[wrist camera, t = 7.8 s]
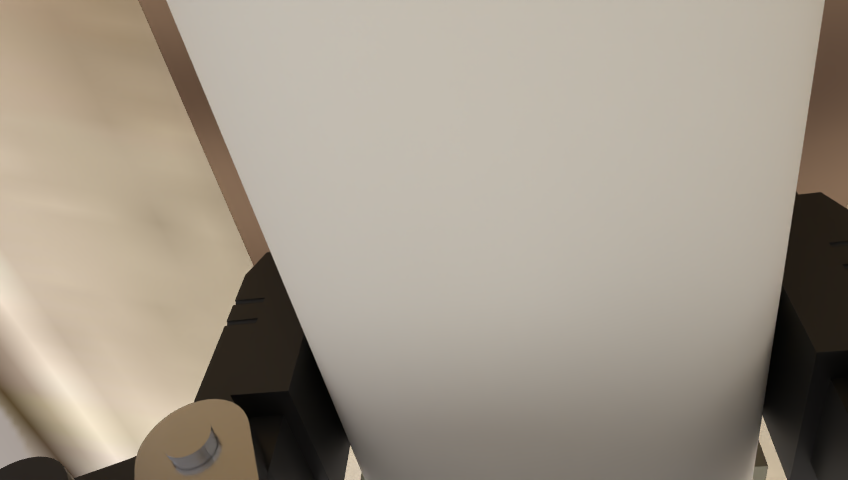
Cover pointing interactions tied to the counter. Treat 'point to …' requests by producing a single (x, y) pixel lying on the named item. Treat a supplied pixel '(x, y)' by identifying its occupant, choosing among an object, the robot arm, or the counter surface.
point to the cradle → (819, 168)
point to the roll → (524, 219)
